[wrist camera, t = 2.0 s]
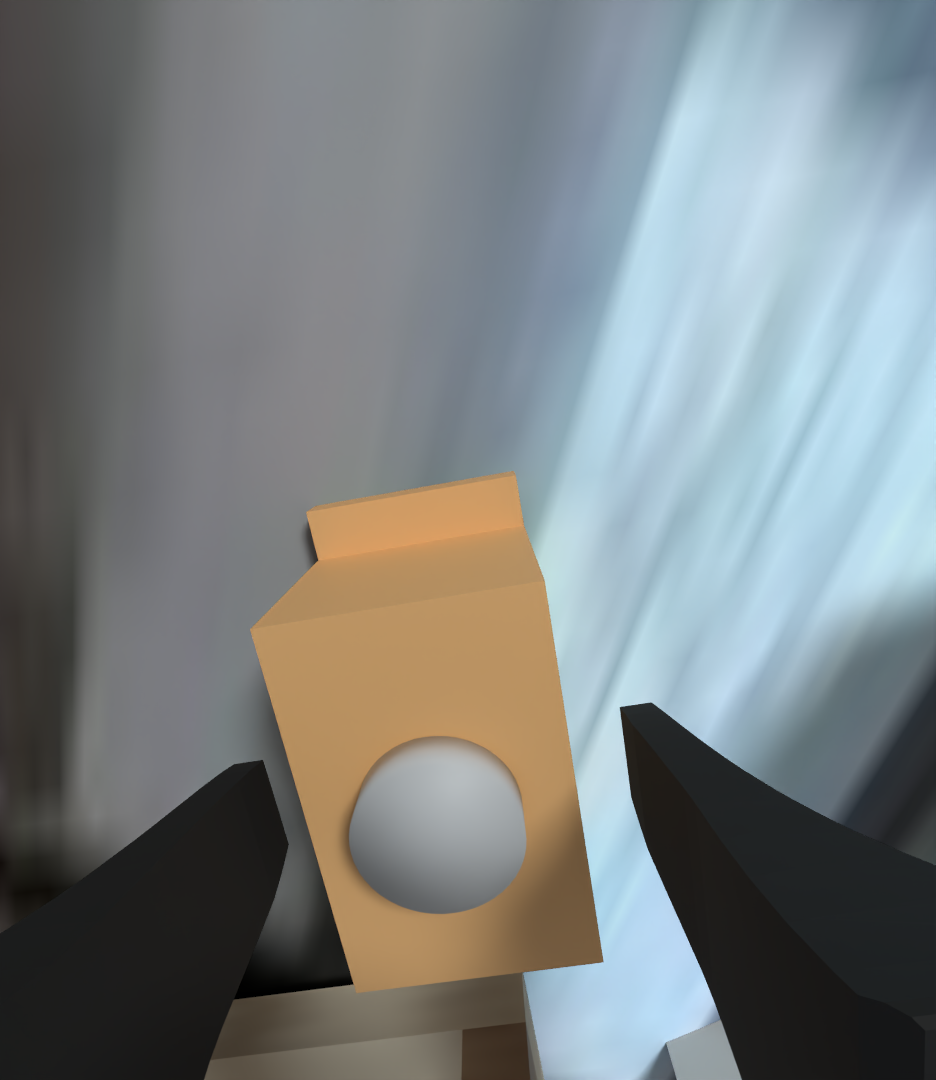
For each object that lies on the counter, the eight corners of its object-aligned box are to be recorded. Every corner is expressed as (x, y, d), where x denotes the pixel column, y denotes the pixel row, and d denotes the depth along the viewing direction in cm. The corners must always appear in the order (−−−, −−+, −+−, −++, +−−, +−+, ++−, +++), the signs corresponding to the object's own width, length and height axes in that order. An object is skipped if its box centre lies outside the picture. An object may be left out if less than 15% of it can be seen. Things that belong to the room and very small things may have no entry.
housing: (401, 849, 16) (361, 1082, 11) (315, 505, 14) (207, 576, 8) (570, 826, 16) (620, 1053, 11) (513, 470, 14) (538, 519, 8)
